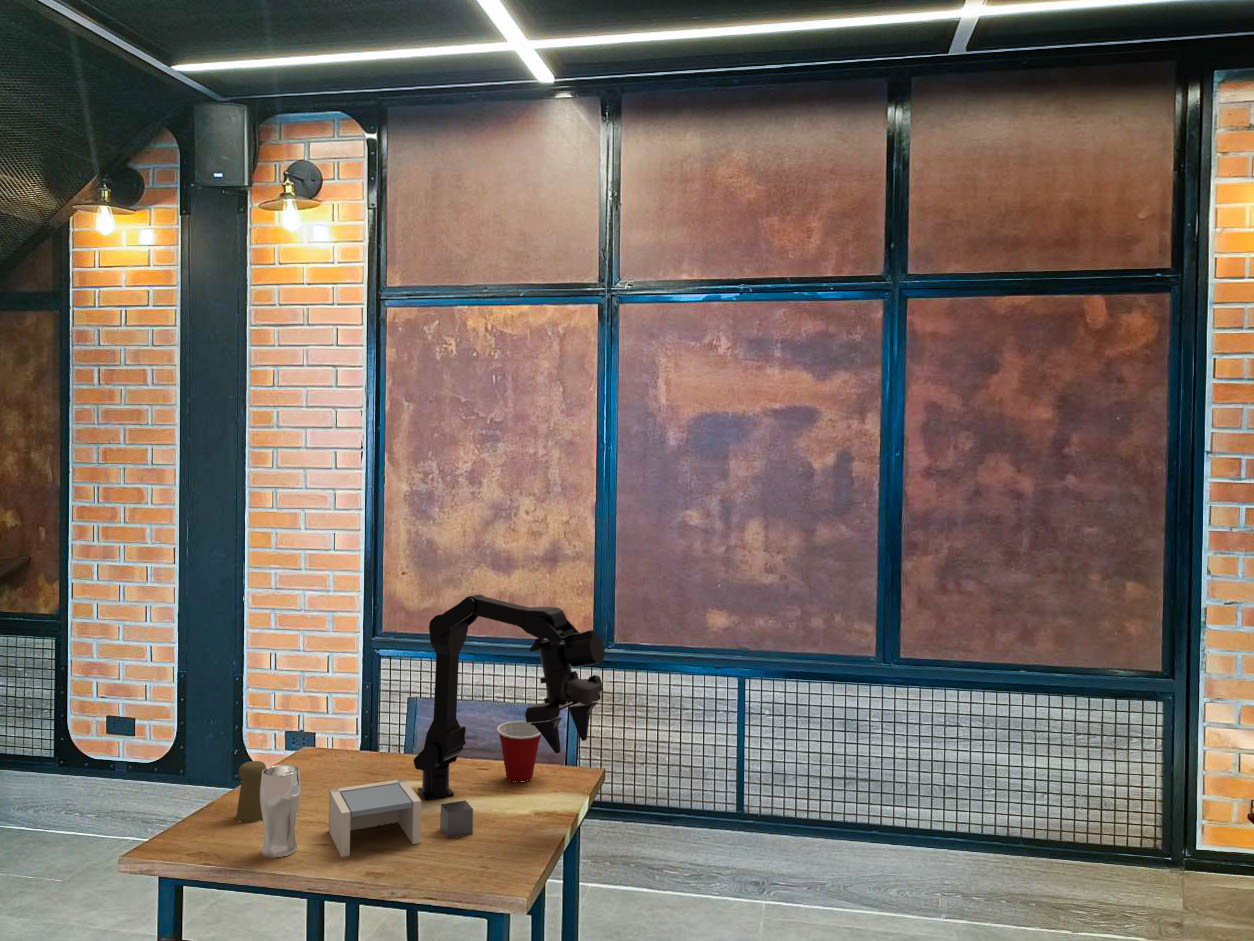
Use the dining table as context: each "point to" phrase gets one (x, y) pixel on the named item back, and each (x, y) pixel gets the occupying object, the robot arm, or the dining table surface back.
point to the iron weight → (456, 819)
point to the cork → (250, 792)
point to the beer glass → (279, 809)
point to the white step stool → (371, 816)
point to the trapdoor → (376, 800)
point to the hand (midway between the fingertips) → (571, 746)
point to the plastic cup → (519, 749)
